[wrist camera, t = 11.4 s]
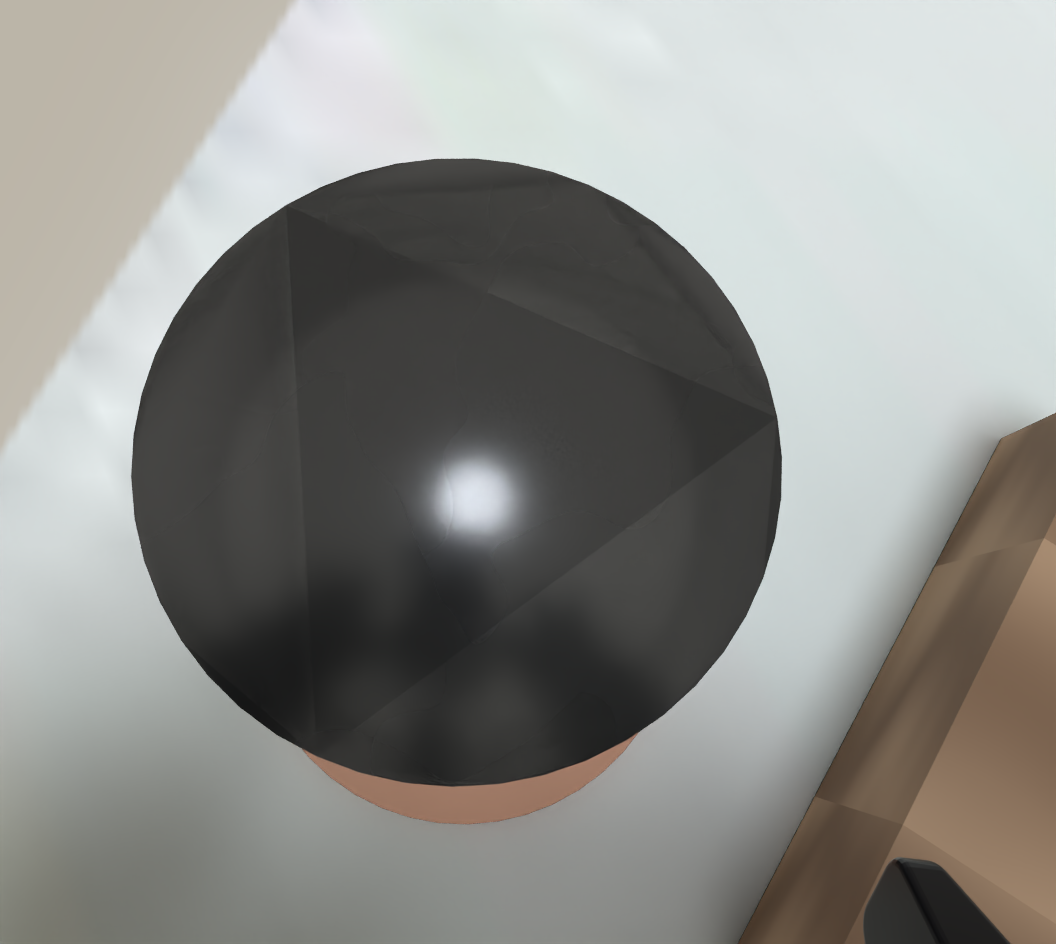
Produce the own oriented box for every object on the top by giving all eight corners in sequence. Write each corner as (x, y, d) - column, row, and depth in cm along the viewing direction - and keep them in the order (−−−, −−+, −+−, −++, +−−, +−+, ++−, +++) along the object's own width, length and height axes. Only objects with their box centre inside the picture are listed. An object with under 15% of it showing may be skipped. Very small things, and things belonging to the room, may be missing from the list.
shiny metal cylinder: (485, 775, 18) (513, 942, 6) (299, 619, 19) (-14, 489, 7) (632, 583, 19) (901, 406, 7) (452, 441, 20) (424, 52, 8)
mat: (656, 844, 19) (660, 848, 18) (219, 794, 18) (213, 796, 18) (688, 428, 21) (692, 423, 20) (296, 378, 20) (293, 372, 20)
